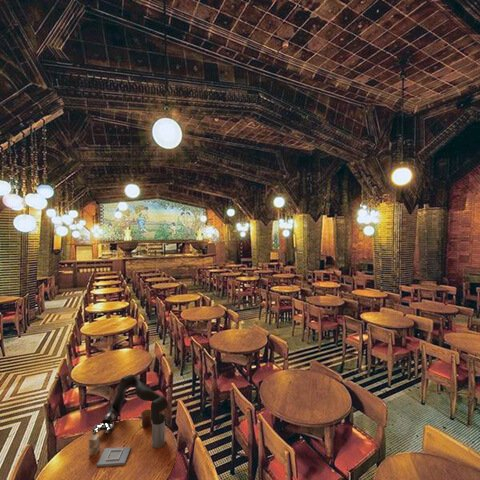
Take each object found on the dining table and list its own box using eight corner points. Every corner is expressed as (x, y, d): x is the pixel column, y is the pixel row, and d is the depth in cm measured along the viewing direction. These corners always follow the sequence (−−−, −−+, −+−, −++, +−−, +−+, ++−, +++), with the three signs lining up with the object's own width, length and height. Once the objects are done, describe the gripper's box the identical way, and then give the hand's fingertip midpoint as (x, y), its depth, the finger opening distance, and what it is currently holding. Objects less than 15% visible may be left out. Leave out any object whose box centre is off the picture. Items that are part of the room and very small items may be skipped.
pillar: (99, 449, 197) (99, 434, 196) (96, 454, 192) (96, 439, 192) (92, 449, 196) (92, 434, 196) (89, 455, 191) (89, 439, 191)
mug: (142, 430, 216) (142, 417, 216) (140, 423, 223) (140, 411, 223) (157, 424, 223) (157, 412, 222) (154, 418, 230) (154, 406, 230)
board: (130, 448, 197) (130, 445, 197) (124, 464, 183) (124, 461, 183) (105, 450, 196) (105, 447, 196) (96, 466, 182) (96, 463, 182)
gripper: (98, 416, 218) (89, 430, 202) (117, 415, 220) (109, 429, 204) (98, 425, 218) (89, 440, 202) (117, 424, 220) (109, 439, 204)
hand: (99, 434), depth 203 cm, fingers open, 8 cm apart
